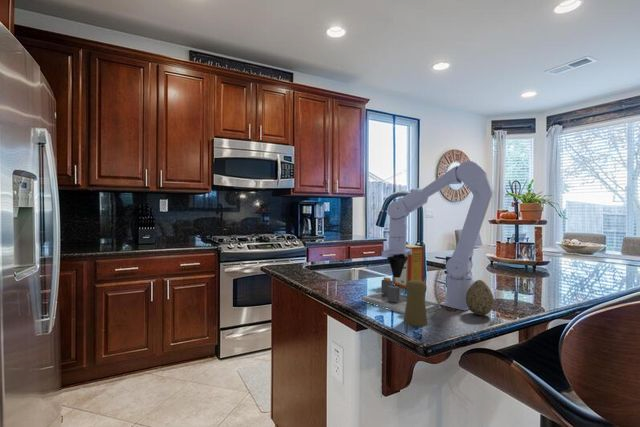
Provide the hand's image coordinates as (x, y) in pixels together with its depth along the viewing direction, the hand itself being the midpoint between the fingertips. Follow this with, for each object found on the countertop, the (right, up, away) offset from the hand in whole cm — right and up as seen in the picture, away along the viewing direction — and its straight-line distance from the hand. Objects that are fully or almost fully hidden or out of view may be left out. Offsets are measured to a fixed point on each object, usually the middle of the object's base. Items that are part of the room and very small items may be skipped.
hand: (396, 277), depth 115 cm
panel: (-2, -7, -11) cm, 13 cm away
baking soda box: (+8, -7, +15) cm, 18 cm away
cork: (-1, -7, -26) cm, 27 cm away
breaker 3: (-4, -5, -4) cm, 7 cm away
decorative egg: (+19, -7, -19) cm, 28 cm away
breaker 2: (-4, -5, -13) cm, 14 cm away
